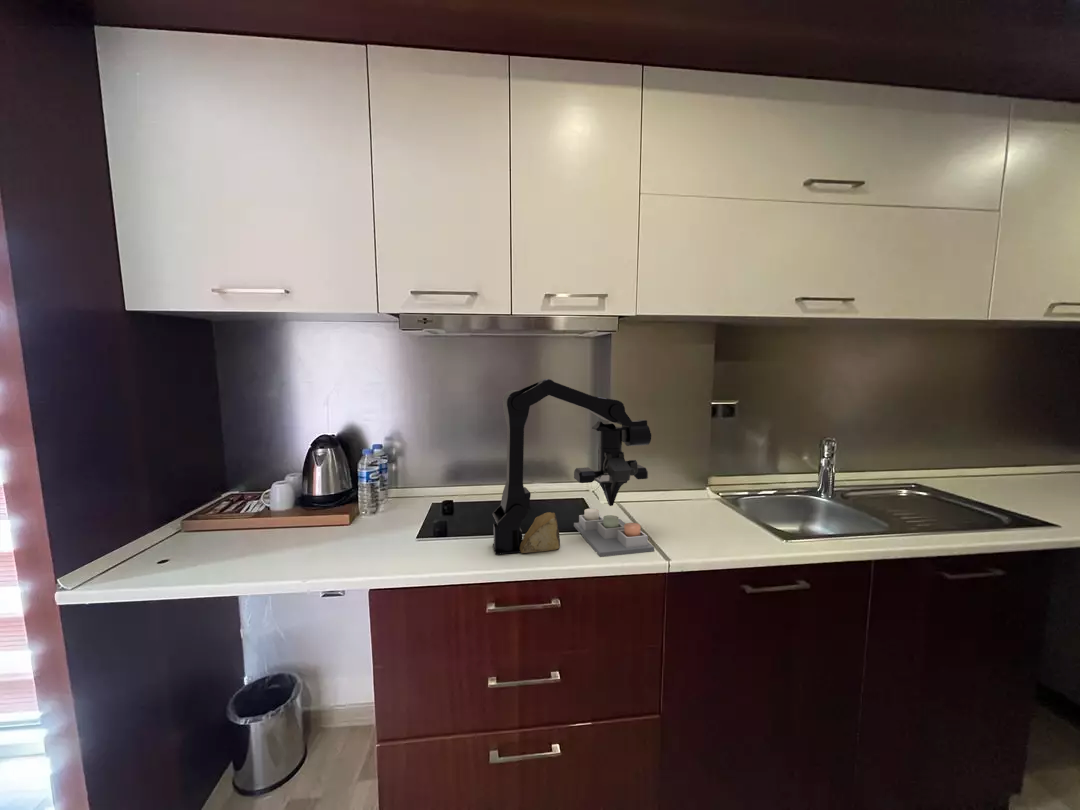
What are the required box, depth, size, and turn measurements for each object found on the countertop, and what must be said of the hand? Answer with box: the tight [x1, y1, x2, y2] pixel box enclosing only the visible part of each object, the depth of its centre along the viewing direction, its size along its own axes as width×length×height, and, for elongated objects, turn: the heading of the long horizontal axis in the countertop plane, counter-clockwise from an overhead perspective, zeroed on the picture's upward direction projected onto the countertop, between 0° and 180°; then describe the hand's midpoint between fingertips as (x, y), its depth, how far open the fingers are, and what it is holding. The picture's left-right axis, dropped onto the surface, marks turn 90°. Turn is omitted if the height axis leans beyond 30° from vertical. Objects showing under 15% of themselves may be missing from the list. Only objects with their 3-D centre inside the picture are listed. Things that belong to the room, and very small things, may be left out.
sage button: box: [602, 514, 620, 529], centre depth 120 cm, size 4×4×3 cm
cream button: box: [583, 507, 600, 521], centre depth 127 cm, size 4×4×3 cm
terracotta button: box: [624, 522, 642, 537], centre depth 114 cm, size 4×4×3 cm
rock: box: [519, 511, 561, 554], centre depth 114 cm, size 11×9×10 cm
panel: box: [573, 514, 655, 558], centre depth 121 cm, size 14×22×4 cm, turn 12°
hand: (610, 505), depth 120 cm, fingers closed
